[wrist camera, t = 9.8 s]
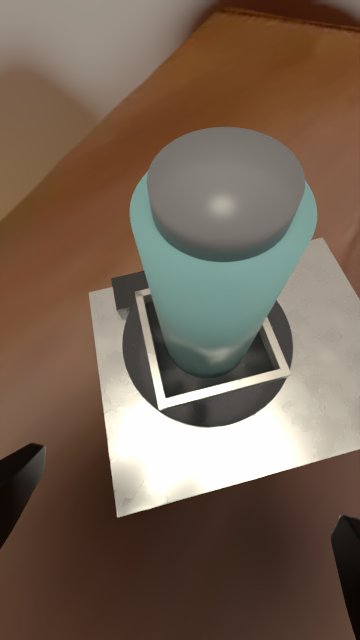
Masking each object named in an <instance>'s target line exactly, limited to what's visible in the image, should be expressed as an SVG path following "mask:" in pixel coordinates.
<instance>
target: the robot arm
mask: <svg viewBox="0 0 360 640" xmlns="http://www.w3.org/2000/svg"><path fill="white" fill-rule="evenodd" d="M45 451H46V449H45V446H44V445H41V444H36V443H30V444H28V445H26V446H25V447H23V448H21V449H19V450H17V451H16V452H14V453H12V454H10V455H8V456H7V457H5V458H3V459H1V460H0V549H1V547H2V546H3V544H4V542H5V541H6V539H7V538H8V536H9V535H10V533H11V531H12V530H13V528H14V526H15V524H16V523H17V521H18V519H19V517H20V515H21V513H22V511H23V510H24V508H25V506H26V504H27V502H28V500H29V498H30V496H31V495H32V493H33V491H34V489H35V487H36V485H37V483H38V481H39V480H40V478H41V476H42V474H43V471H44V468H45ZM331 542H332V547H333V552H334V556H335V560H336V565H337V569H338V573H339V578H340V582H341V587H342V591H343V595H344V600H345V604H346V608H347V611H348V615H349V618H350V621H351V625H352V628H353V631H354V634H355V638H356V640H360V520H359V519H358V518H356V517H353V516H349V515H341V516H340V517H339V519H338V522H337V524H336V526H335V528H334V530H333V532H332V535H331Z"/></svg>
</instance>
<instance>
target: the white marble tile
mask: <svg viewBox="0 0 360 640" xmlns="http://www.w3.org/2000/svg"><path fill="white" fill-rule="evenodd" d="M111 280H112V286H113V287H111V288H107V289H102V290H98V291H94V292H90V293H89V299H90V306H91V314H92V322H93V330H94V338H95V346H96V354H97V362H98V370H99V377H100V385H101V393H102V401H103V409H104V417H105V425H106V433H107V441H108V448H109V456H110V464H111V472H112V480H113V488H114V496H115V504H116V511H117V518H118V517H122V516H125V515H129V514H132V513H136V512H139V511H143V510H146V509H150V508H153V507H157V506H160V505H164V504H167V503H171V502H174V501H178V500H182V499H185V498H189V497H192V496H196V495H199V494H203V493H206V492H210V491H213V490H217V489H220V488H224V487H227V486H231V485H234V484H238V483H241V482H245V481H249V480H252V479H256V478H259V477H263V476H266V475H270V474H273V473H277V472H280V471H284V470H287V469H291V468H294V467H298V466H301V465H305V464H309V463H312V462H316V461H319V460H323V459H326V458H330V457H333V456H337V455H340V454H344V453H347V452H351V451H354V450H358V449H360V300H359V298H358V297H357V295H356V293H355V292H354V290H353V288H352V286H351V285H350V283H349V281H348V280H347V278H346V276H345V275H344V273H343V271H342V270H341V268H340V266H339V264H338V263H337V261H336V259H335V258H334V256H333V254H332V253H331V251H330V249H329V248H328V246H327V244H326V242H325V241H324V239H323V238H319V239H315V240H310V242H309V244H308V246H307V247H306V249H305V251H304V253H303V254H302V256H301V258H300V260H299V261H298V263H297V265H296V267H295V268H294V270H293V272H292V274H291V275H290V277H289V279H288V281H287V282H286V284H285V286H284V288H283V289H282V291H281V293H280V295H279V296H278V298H277V300H276V302H275V303H274V305H273V307H272V309H271V310H270V312H269V314H268V316H267V317H266V319H265V321H264V323H263V324H262V326H261V328H260V330H259V331H258V333H257V335H256V337H255V338H254V340H253V342H252V344H251V345H250V347H249V349H248V351H247V352H246V354H245V356H244V358H243V359H242V361H241V362H240V364H239V365H238V366H237V367H236V368H235V369H234V370H232V371H231V372H229V373H227V374H226V375H223V376H221V377H216V378H198V377H195V376H192V375H189V374H187V373H185V372H184V371H182V370H181V369H180V368H178V367H177V366H176V365H175V363H174V362H173V361H172V359H171V358H170V356H169V354H168V351H167V348H166V345H165V341H164V338H163V334H162V331H161V327H160V324H159V320H158V317H157V313H156V310H155V306H154V303H153V300H152V296H151V293H150V289H149V286H148V282H147V279H146V275H145V272H144V271H141V272H137V273H133V274H128V275H124V276H120V277H116V278H111Z"/></svg>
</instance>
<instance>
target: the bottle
mask: <svg viewBox="0 0 360 640" xmlns="http://www.w3.org/2000/svg"><path fill="white" fill-rule="evenodd" d="M130 221H131V226H132V230H133V234H134V237H135V241H136V244H137V247H138V251H139V254H140V258H141V261H142V265H143V268H144V272H145V275H146V279H147V282H148V286H149V289H150V293H151V296H152V300H153V303H154V306H155V310H156V313H157V317H158V320H159V324H160V327H161V331H162V334H163V338H164V341H165V345H166V348H167V351H168V354H169V356H170V358H171V359H172V361H173V362H174V363H175V365H176V366H177V367H178V368H180V369H181V370H182V371H184V372H185V373H187V374H189V375H192V376H195V377H198V378H216V377H221V376H223V375H226V374H227V373H229V372H231V371H232V370H234V369H235V368H236V367H237V366H238V365H239V364H240V362H241V361H242V359H243V358H244V356H245V354H246V352H247V351H248V349H249V347H250V345H251V344H252V342H253V340H254V338H255V337H256V335H257V333H258V331H259V330H260V328H261V326H262V324H263V323H264V321H265V319H266V317H267V316H268V314H269V312H270V310H271V309H272V307H273V305H274V303H275V302H276V300H277V298H278V296H279V295H280V293H281V291H282V289H283V288H284V286H285V284H286V282H287V281H288V279H289V277H290V275H291V274H292V272H293V270H294V268H295V267H296V265H297V263H298V261H299V260H300V258H301V256H302V254H303V253H304V251H305V249H306V247H307V246H308V244H309V242H310V240H311V238H312V236H313V234H314V231H315V228H316V222H317V207H316V202H315V198H314V196H313V193H312V191H311V189H310V187H309V185H308V184H307V182H306V181H305V176H304V171H303V169H302V166H301V164H300V162H299V161H298V159H297V158H296V156H295V155H294V154H293V153H292V152H291V151H290V150H289V149H288V148H287V147H286V146H285V145H283V144H282V143H280V142H279V141H277V140H275V139H274V138H272V137H270V136H267V135H265V134H263V133H260V132H256V131H253V130H249V129H244V128H236V127H215V128H207V129H202V130H198V131H194V132H191V133H188V134H186V135H183V136H181V137H179V138H177V139H175V140H174V141H172V142H171V143H169V144H168V145H167V146H165V147H164V148H163V149H162V150H161V151H160V152H159V153H158V154H157V156H156V157H155V158H154V160H153V161H152V163H151V166H150V168H149V171H148V172H147V173H146V174H145V175H144V176H143V178H142V179H141V180H140V182H139V183H138V185H137V187H136V189H135V191H134V193H133V196H132V199H131V204H130Z"/></svg>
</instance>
